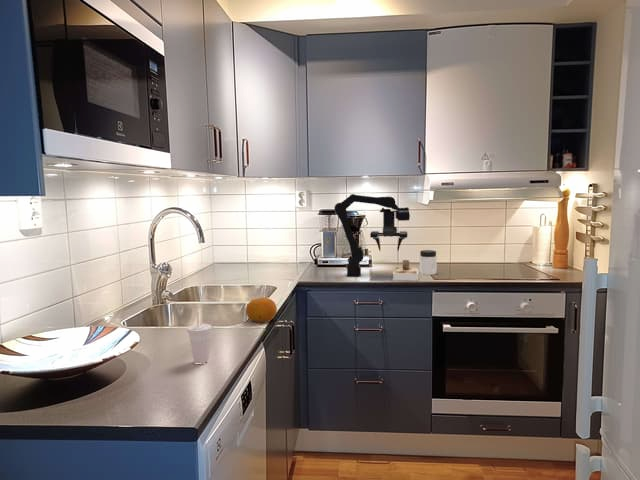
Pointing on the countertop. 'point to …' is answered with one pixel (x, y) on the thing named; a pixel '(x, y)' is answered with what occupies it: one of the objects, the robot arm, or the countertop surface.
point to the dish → (405, 276)
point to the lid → (405, 268)
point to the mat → (382, 278)
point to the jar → (428, 262)
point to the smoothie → (200, 341)
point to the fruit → (261, 309)
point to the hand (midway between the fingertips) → (388, 251)
